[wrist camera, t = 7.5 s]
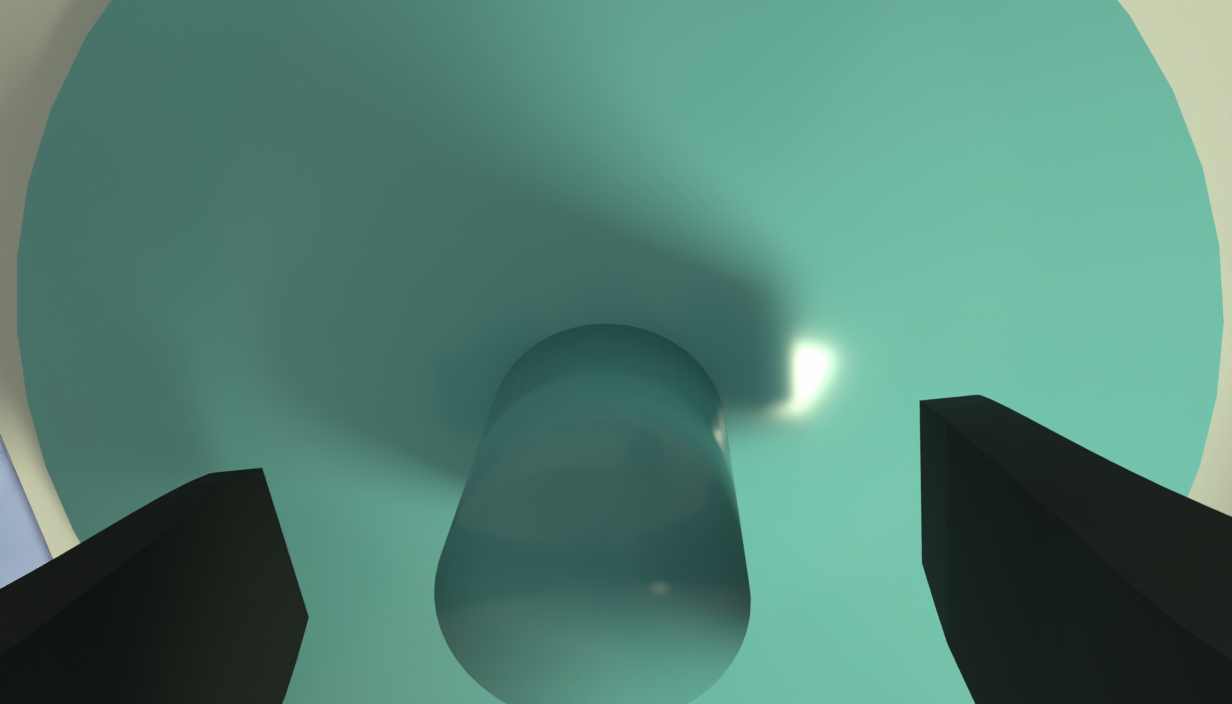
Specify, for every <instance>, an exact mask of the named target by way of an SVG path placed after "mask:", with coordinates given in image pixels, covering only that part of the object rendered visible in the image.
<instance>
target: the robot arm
mask: <svg viewBox="0 0 1232 704" xmlns="http://www.w3.org/2000/svg"><path fill="white" fill-rule="evenodd" d="M919 405H920V472H921V540H922V565H923V568H924V572H925V575H926V578H927V582H928V585H929V588H930V592H931V595H932V598H933V601H934V605H935V608H936V611H937V614H938V617H939V620H940V623H941V626H942V629H943V632H944V635H945V639H946V642H947V644H948V646H949V649H950V651H951V653H952V655H953V657H954V660H955V662H956V664H957V666H958V668H959V670H960V673H961V675H962V677H963V679H964V681H965V683H966V685H967V688H968V690H969V692H970V694H971V696H972V698H973V700H974V703H975V704H1232V516H1229V515H1227V514H1224V513H1222V512H1220V511H1218V510H1215V509H1213V508H1211V507H1209V506H1206V505H1204V504H1202V503H1199V502H1197V501H1195V500H1193V499H1190V498H1188V497H1186V496H1184V495H1181V494H1179V493H1177V492H1175V491H1172V490H1170V489H1168V488H1166V487H1163V486H1161V485H1159V484H1157V483H1155V482H1153V481H1151V480H1149V479H1147V478H1144V477H1142V476H1140V475H1138V474H1136V473H1134V472H1132V471H1130V470H1128V469H1126V468H1124V467H1122V466H1120V465H1118V464H1116V463H1114V462H1112V461H1110V460H1108V459H1106V458H1104V457H1102V456H1100V455H1098V454H1096V453H1094V452H1092V451H1090V450H1088V449H1086V448H1084V447H1083V446H1081V445H1079V444H1077V443H1075V442H1073V441H1071V440H1069V439H1067V438H1065V437H1063V436H1062V435H1060V434H1058V433H1056V432H1054V431H1052V430H1050V429H1048V428H1047V427H1045V426H1043V425H1041V424H1039V423H1037V422H1035V421H1033V420H1031V419H1030V418H1028V417H1026V416H1024V415H1022V414H1020V413H1018V412H1016V411H1014V410H1012V409H1010V408H1008V407H1006V406H1004V405H1002V404H1000V403H998V402H996V401H994V400H992V399H989V398H987V397H984V396H982V395H979V394H978V395H968V396H958V397H948V398H938V399H929V400H919ZM308 619H309V616H308V613H307V609H306V606H305V603H304V600H303V597H302V593H301V590H300V587H299V584H298V580H297V577H296V574H295V571H294V568H293V564H292V561H291V558H290V555H289V552H288V548H287V545H286V542H285V539H284V536H283V532H282V529H281V526H280V523H279V520H278V516H277V513H276V510H275V507H274V503H273V500H272V497H271V494H270V491H269V487H268V484H267V481H266V478H265V475H264V471H263V468H253V469H243V470H234V471H224V472H214V473H209V474H206V475H204V476H202V477H199V478H197V479H194V480H192V481H190V482H188V483H186V484H184V485H182V486H180V487H178V488H176V489H174V490H172V491H170V492H168V493H166V494H164V495H163V496H161V497H159V498H157V499H155V500H154V501H152V502H150V503H148V504H146V505H145V506H143V507H141V508H139V509H138V510H136V511H134V512H132V513H131V514H129V515H127V516H126V517H124V518H122V519H121V520H119V521H117V522H115V523H114V524H112V525H110V526H109V527H107V528H105V529H103V530H102V531H100V532H98V533H97V534H95V535H93V536H92V537H90V538H88V539H87V540H85V541H83V542H81V543H80V544H78V545H76V546H75V547H73V548H71V549H70V550H68V551H66V552H64V553H63V554H61V555H59V556H58V557H56V558H54V559H53V560H51V561H49V562H47V563H46V564H44V565H42V566H41V567H39V568H37V569H35V570H34V571H32V572H30V573H28V574H26V575H25V576H23V577H21V578H19V579H17V580H16V581H14V582H12V583H10V584H8V585H7V586H5V587H3V588H1V589H0V704H282V703H283V701H284V698H285V696H286V693H287V690H288V687H289V683H290V680H291V677H292V674H293V671H294V668H295V665H296V662H297V658H298V655H299V651H300V648H301V644H302V640H303V637H304V633H305V630H306V626H307V622H308Z"/></svg>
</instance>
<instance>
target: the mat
mask: <svg viewBox="0 0 1232 704" xmlns="http://www.w3.org/2000/svg"><path fill="white" fill-rule="evenodd" d="M110 1H111V0H0V434H1V437H2V439H3V442H4V444H5V446H6V449H7V451H8V453H9V456H10V458H11V460H12V463H13V465H14V468H15V470H16V472H17V475H18V477H19V479H20V482H21V484H22V486H23V489H24V491H25V493H26V496H27V498H28V501H29V503H30V505H31V508H32V510H33V512H34V515H35V517H36V519H37V522H38V524H39V527H40V529H41V531H42V534H43V536H44V538H45V541H46V543H47V545H48V548H49V550H50V553H51V555H52V557H53V559H54V558H56V557H58V556H59V555H61V554H63V553H64V552H66V551H68V550H70V549H71V548H73V547H75V546H76V545H78V544H80V541H79V539H78V538H77V536H76V534H75V532H74V531H73V529H72V526H71V524H70V522H69V519H68V517H67V515H66V513H65V510H64V508H63V506H62V503H61V501H60V499H59V496H58V494H57V492H56V489H55V487H54V485H53V482H52V480H51V478H50V476H49V473H48V471H47V469H46V466H45V462H44V459H43V455H42V452H41V448H40V445H39V441H38V438H37V434H36V431H35V427H34V424H33V420H32V417H31V413H30V410H29V406H28V403H27V397H26V390H25V383H24V376H23V369H22V362H21V355H20V348H19V341H18V334H17V254H18V248H19V241H20V234H21V227H22V221H23V214H24V207H25V200H26V193H27V187H28V182H29V179H30V175H31V172H32V169H33V165H34V162H35V159H36V156H37V152H38V149H39V146H40V143H41V139H42V136H43V133H44V130H45V126H46V123H47V120H48V117H49V113H50V110H51V108H52V106H53V104H54V101H55V99H56V97H57V95H58V93H59V91H60V89H61V87H62V85H63V83H64V81H65V79H66V77H67V75H68V73H69V71H70V69H71V66H72V64H73V62H74V60H75V58H76V56H77V54H78V52H79V50H80V48H81V46H82V44H83V42H84V40H85V38H86V36H87V34H88V33H89V32H90V30H91V29H92V27H93V26H94V24H95V23H96V21H97V20H98V19H99V17H100V16H101V14H102V13H103V11H104V10H105V9H106V7H107V6H108V4H109V3H110ZM1118 1H1119V3H1120V4H1121V5H1122V6H1123V8H1124V9H1125V10H1126V11H1127V13H1128V14H1129V15H1130V17H1131V18H1132V20H1133V22H1134V24H1135V25H1136V27H1137V29H1138V31H1139V32H1140V34H1141V36H1142V37H1143V39H1144V41H1145V43H1146V44H1147V46H1148V48H1149V50H1150V51H1151V53H1152V55H1153V56H1154V58H1155V60H1156V62H1157V63H1158V65H1159V67H1160V69H1161V70H1162V72H1163V74H1164V75H1165V77H1166V79H1167V81H1168V82H1169V84H1170V86H1171V88H1172V89H1173V92H1174V94H1175V97H1176V99H1177V102H1178V105H1179V107H1180V110H1181V112H1182V115H1183V118H1184V120H1185V123H1186V125H1187V128H1188V131H1189V133H1190V136H1191V138H1192V141H1193V144H1194V146H1195V149H1196V151H1197V154H1198V157H1199V159H1200V162H1201V164H1202V167H1203V172H1204V176H1205V181H1206V186H1207V190H1208V195H1209V200H1210V204H1211V209H1212V214H1213V218H1214V223H1215V227H1216V232H1217V237H1218V241H1219V249H1220V266H1221V283H1222V300H1223V317H1224V324H1223V335H1222V346H1221V357H1220V368H1219V379H1218V390H1217V398H1216V402H1215V406H1214V410H1213V414H1212V418H1211V423H1210V427H1209V431H1208V435H1207V439H1206V443H1205V448H1204V452H1203V456H1202V460H1201V464H1200V467H1199V470H1198V472H1197V475H1196V477H1195V480H1194V482H1193V485H1192V488H1191V490H1190V493H1189V495H1188V498H1190V499H1193V500H1195V501H1197V502H1199V503H1202V504H1204V505H1206V506H1209V507H1211V508H1213V509H1215V510H1218V511H1220V512H1222V513H1224V514H1227V515H1229V516H1232V0H1118Z"/></svg>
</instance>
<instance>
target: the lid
mask: <svg viewBox="0 0 1232 704" xmlns="http://www.w3.org/2000/svg"><path fill="white" fill-rule="evenodd" d="M1223 324H1224V317H1223V300H1222V283H1221V266H1220V249H1219V241H1218V237H1217V232H1216V227H1215V223H1214V218H1213V214H1212V209H1211V204H1210V200H1209V195H1208V190H1207V186H1206V181H1205V176H1204V172H1203V167H1202V164H1201V162H1200V159H1199V157H1198V154H1197V151H1196V149H1195V146H1194V144H1193V141H1192V138H1191V136H1190V133H1189V131H1188V128H1187V125H1186V123H1185V120H1184V118H1183V115H1182V112H1181V110H1180V107H1179V105H1178V102H1177V99H1176V97H1175V94H1174V92H1173V89H1172V88H1171V86H1170V84H1169V82H1168V81H1167V79H1166V77H1165V75H1164V74H1163V72H1162V70H1161V69H1160V67H1159V65H1158V63H1157V62H1156V60H1155V58H1154V56H1153V55H1152V53H1151V51H1150V50H1149V48H1148V46H1147V44H1146V43H1145V41H1144V39H1143V37H1142V36H1141V34H1140V32H1139V31H1138V29H1137V27H1136V25H1135V24H1134V22H1133V20H1132V18H1131V17H1130V15H1129V14H1128V13H1127V11H1126V10H1125V9H1124V8H1123V6H1122V5H1121V4H1120V3H1119V1H1118V0H111V1H110V3H109V4H108V6H107V7H106V9H105V10H104V11H103V13H102V14H101V16H100V17H99V19H98V20H97V21H96V23H95V24H94V26H93V27H92V29H91V30H90V32H89V33H88V34H87V36H86V38H85V40H84V42H83V44H82V46H81V48H80V50H79V52H78V54H77V56H76V58H75V60H74V62H73V64H72V66H71V69H70V71H69V73H68V75H67V77H66V79H65V81H64V83H63V85H62V87H61V89H60V91H59V93H58V95H57V97H56V99H55V101H54V104H53V106H52V108H51V110H50V113H49V117H48V120H47V123H46V126H45V130H44V133H43V136H42V139H41V143H40V146H39V149H38V152H37V156H36V159H35V162H34V165H33V169H32V172H31V175H30V179H29V182H28V187H27V193H26V200H25V207H24V214H23V221H22V227H21V234H20V241H19V248H18V254H17V334H18V341H19V348H20V355H21V362H22V369H23V376H24V383H25V390H26V397H27V403H28V406H29V410H30V413H31V417H32V420H33V424H34V427H35V431H36V434H37V438H38V441H39V445H40V448H41V452H42V455H43V459H44V462H45V466H46V469H47V471H48V473H49V476H50V478H51V480H52V482H53V485H54V487H55V489H56V492H57V494H58V496H59V499H60V501H61V503H62V506H63V508H64V510H65V513H66V515H67V517H68V519H69V522H70V524H71V526H72V529H73V531H74V532H75V534H76V536H77V538H78V539H79V541H80V543H81V542H83V541H85V540H87V539H88V538H90V537H92V536H93V535H95V534H97V533H98V532H100V531H102V530H103V529H105V528H107V527H109V526H110V525H112V524H114V523H115V522H117V521H119V520H121V519H122V518H124V517H126V516H127V515H129V514H131V513H132V512H134V511H136V510H138V509H139V508H141V507H143V506H145V505H146V504H148V503H150V502H152V501H154V500H155V499H157V498H159V497H161V496H163V495H164V494H166V493H168V492H170V491H172V490H174V489H176V488H178V487H180V486H182V485H184V484H186V483H188V482H190V481H192V480H194V479H197V478H199V477H202V476H204V475H206V474H209V473H214V472H224V471H234V470H243V469H253V468H263V471H264V475H265V478H266V481H267V484H268V487H269V491H270V494H271V497H272V500H273V503H274V507H275V510H276V513H277V516H278V520H279V523H280V526H281V529H282V532H283V536H284V539H285V542H286V545H287V548H288V552H289V555H290V558H291V561H292V564H293V568H294V571H295V574H296V577H297V580H298V584H299V587H300V590H301V593H302V597H303V600H304V603H305V606H306V609H307V613H308V616H309V619H308V622H307V626H306V630H305V633H304V637H303V640H302V644H301V648H300V651H299V655H298V658H297V662H296V665H295V668H294V671H293V674H292V677H291V680H290V683H289V687H288V690H287V693H286V696H285V698H284V701H283V703H282V704H975V703H974V700H973V698H972V696H971V694H970V692H969V690H968V688H967V685H966V683H965V681H964V679H963V677H962V675H961V673H960V670H959V668H958V666H957V664H956V662H955V660H954V657H953V655H952V653H951V651H950V649H949V646H948V644H947V642H946V639H945V635H944V632H943V629H942V626H941V623H940V620H939V617H938V614H937V611H936V608H935V605H934V601H933V598H932V595H931V592H930V588H929V585H928V582H927V578H926V575H925V572H924V568H923V565H922V540H921V472H920V405H919V400H929V399H938V398H948V397H958V396H968V395H978V394H979V395H982V396H984V397H987V398H989V399H992V400H994V401H996V402H998V403H1000V404H1002V405H1004V406H1006V407H1008V408H1010V409H1012V410H1014V411H1016V412H1018V413H1020V414H1022V415H1024V416H1026V417H1028V418H1030V419H1031V420H1033V421H1035V422H1037V423H1039V424H1041V425H1043V426H1045V427H1047V428H1048V429H1050V430H1052V431H1054V432H1056V433H1058V434H1060V435H1062V436H1063V437H1065V438H1067V439H1069V440H1071V441H1073V442H1075V443H1077V444H1079V445H1081V446H1083V447H1084V448H1086V449H1088V450H1090V451H1092V452H1094V453H1096V454H1098V455H1100V456H1102V457H1104V458H1106V459H1108V460H1110V461H1112V462H1114V463H1116V464H1118V465H1120V466H1122V467H1124V468H1126V469H1128V470H1130V471H1132V472H1134V473H1136V474H1138V475H1140V476H1142V477H1144V478H1147V479H1149V480H1151V481H1153V482H1155V483H1157V484H1159V485H1161V486H1163V487H1166V488H1168V489H1170V490H1172V491H1175V492H1177V493H1179V494H1181V495H1184V496H1186V497H1188V495H1189V493H1190V490H1191V488H1192V485H1193V482H1194V480H1195V477H1196V475H1197V472H1198V470H1199V467H1200V464H1201V460H1202V456H1203V452H1204V448H1205V443H1206V439H1207V435H1208V431H1209V427H1210V423H1211V418H1212V414H1213V410H1214V406H1215V402H1216V398H1217V390H1218V379H1219V368H1220V357H1221V346H1222V335H1223Z"/></svg>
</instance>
